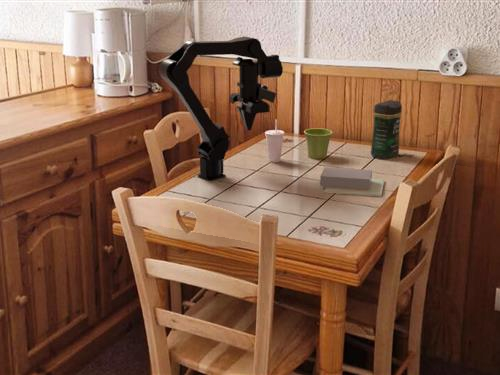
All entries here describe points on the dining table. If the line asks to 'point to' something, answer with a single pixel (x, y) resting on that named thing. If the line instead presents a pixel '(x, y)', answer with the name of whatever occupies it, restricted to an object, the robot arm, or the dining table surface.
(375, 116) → the coffee jar
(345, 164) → the dining table surface
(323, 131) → the plant pot
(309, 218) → the dining table surface
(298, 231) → the dining table surface
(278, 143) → the smoothie
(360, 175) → the slate tile
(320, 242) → the dining table surface
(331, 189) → the pad
